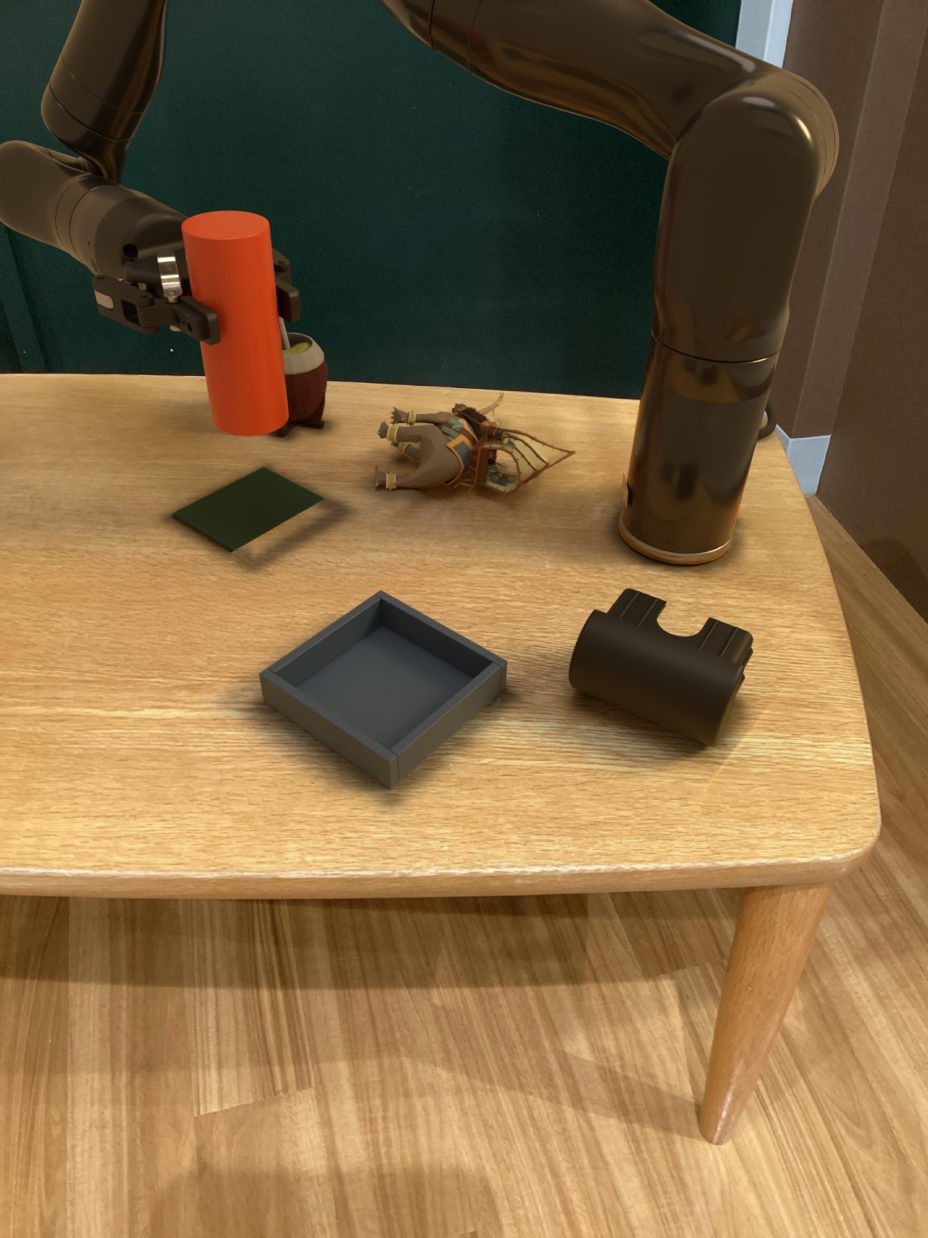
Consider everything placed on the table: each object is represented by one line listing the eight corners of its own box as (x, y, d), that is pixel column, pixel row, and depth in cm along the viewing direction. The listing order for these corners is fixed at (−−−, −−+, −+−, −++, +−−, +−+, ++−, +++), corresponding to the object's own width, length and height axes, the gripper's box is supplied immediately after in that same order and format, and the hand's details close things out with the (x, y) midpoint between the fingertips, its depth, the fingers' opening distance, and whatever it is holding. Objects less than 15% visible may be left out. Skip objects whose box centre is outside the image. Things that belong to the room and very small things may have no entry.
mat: (263, 470, 83) (263, 466, 83) (342, 511, 78) (342, 507, 78) (172, 517, 77) (171, 513, 77) (252, 565, 72) (251, 560, 72)
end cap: (561, 711, 61) (571, 634, 57) (605, 650, 66) (618, 575, 61) (705, 773, 57) (728, 697, 53) (741, 704, 62) (765, 628, 58)
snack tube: (254, 392, 72) (230, 204, 63) (304, 416, 69) (287, 223, 60) (196, 419, 69) (162, 224, 59) (247, 444, 66) (220, 245, 57)
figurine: (412, 362, 89) (587, 385, 86) (411, 421, 92) (579, 443, 90) (351, 455, 73) (563, 485, 71) (353, 521, 76) (555, 551, 74)
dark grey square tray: (382, 621, 68) (380, 589, 66) (505, 693, 62) (507, 660, 60) (263, 706, 61) (258, 673, 59) (390, 795, 56) (389, 762, 54)
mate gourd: (312, 445, 87) (297, 286, 77) (237, 430, 88) (213, 273, 79) (344, 409, 92) (334, 257, 82) (272, 396, 94) (254, 245, 84)
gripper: (34, 214, 65) (146, 287, 56) (215, 180, 73) (340, 239, 63) (61, 317, 70) (168, 400, 61) (228, 275, 78) (346, 344, 68)
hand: (255, 318), depth 62 cm, fingers closed on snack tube, 5 cm apart
